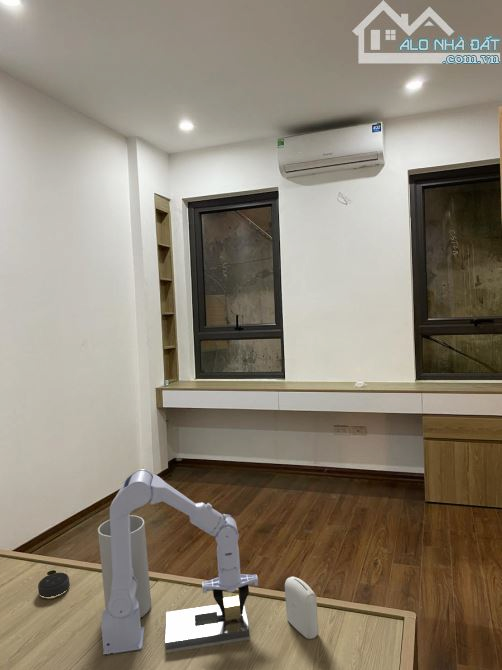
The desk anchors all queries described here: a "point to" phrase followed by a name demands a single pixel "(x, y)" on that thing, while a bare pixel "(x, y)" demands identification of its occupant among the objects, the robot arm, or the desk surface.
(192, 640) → the keyhole plate
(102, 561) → the cylinder vase
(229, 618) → the brass peg
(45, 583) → the smart speaker
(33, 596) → the desk surface
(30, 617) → the desk surface
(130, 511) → the robot arm
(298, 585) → the photo printer
